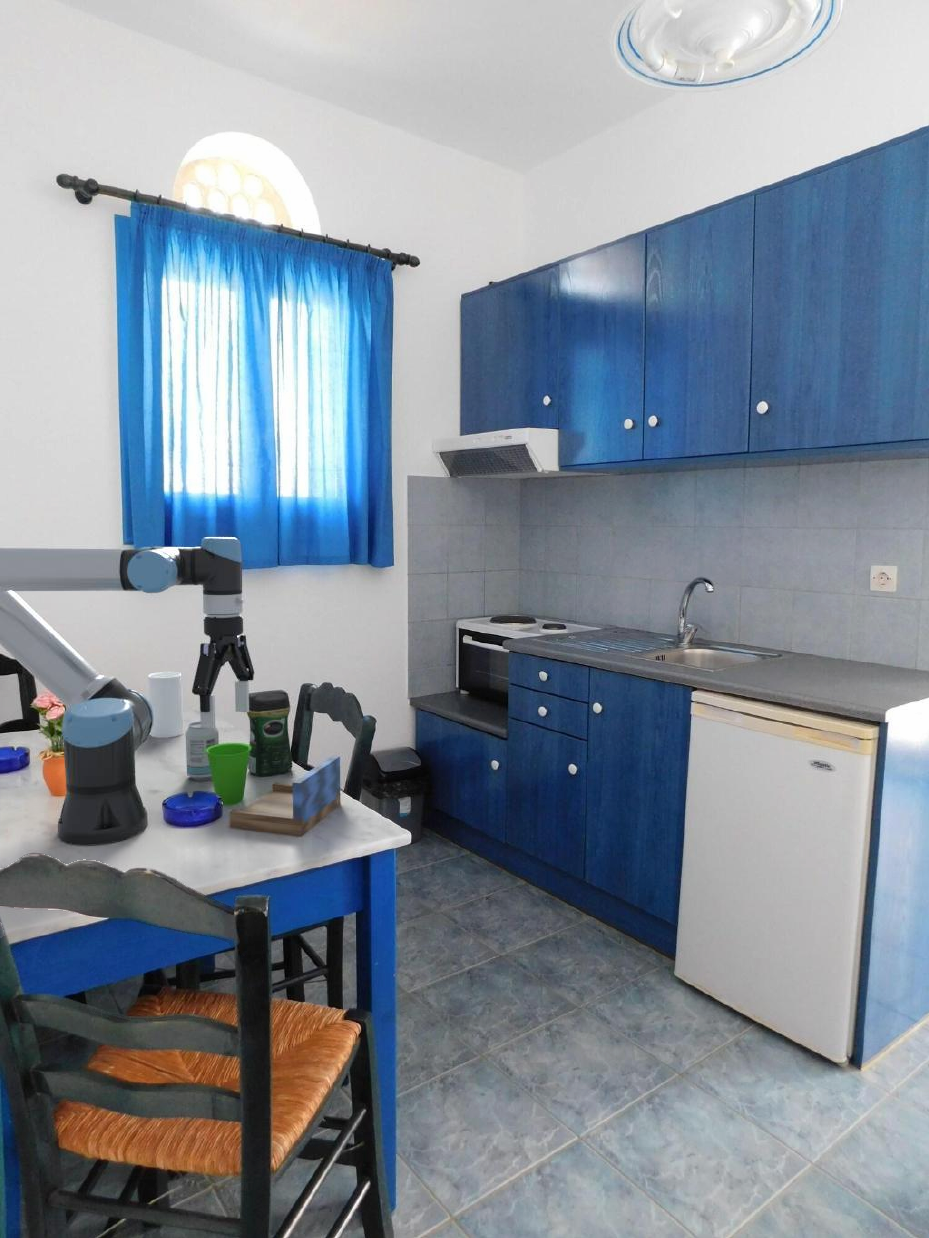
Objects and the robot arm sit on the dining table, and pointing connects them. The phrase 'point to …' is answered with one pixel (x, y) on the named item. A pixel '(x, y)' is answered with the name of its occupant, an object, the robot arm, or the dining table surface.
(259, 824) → the wooden display stand
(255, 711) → the coffee jar
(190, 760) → the beverage can
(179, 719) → the cup
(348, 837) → the dining table surface
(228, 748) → the cup
